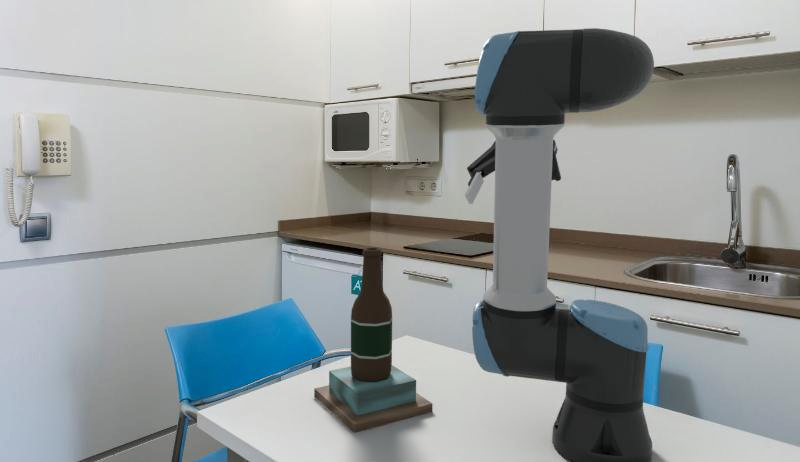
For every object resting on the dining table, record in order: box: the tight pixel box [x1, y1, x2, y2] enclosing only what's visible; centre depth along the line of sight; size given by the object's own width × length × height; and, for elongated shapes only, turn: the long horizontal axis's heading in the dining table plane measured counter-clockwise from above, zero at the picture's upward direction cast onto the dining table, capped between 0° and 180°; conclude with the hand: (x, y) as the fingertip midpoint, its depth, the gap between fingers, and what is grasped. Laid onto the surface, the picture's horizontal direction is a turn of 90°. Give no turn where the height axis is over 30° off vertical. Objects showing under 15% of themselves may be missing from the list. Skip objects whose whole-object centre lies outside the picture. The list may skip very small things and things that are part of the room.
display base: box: [313, 364, 434, 433], centre depth 107 cm, size 17×16×6 cm
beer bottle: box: [350, 247, 393, 382], centre depth 105 cm, size 8×8×24 cm
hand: (498, 201), depth 113 cm, fingers open, 13 cm apart
